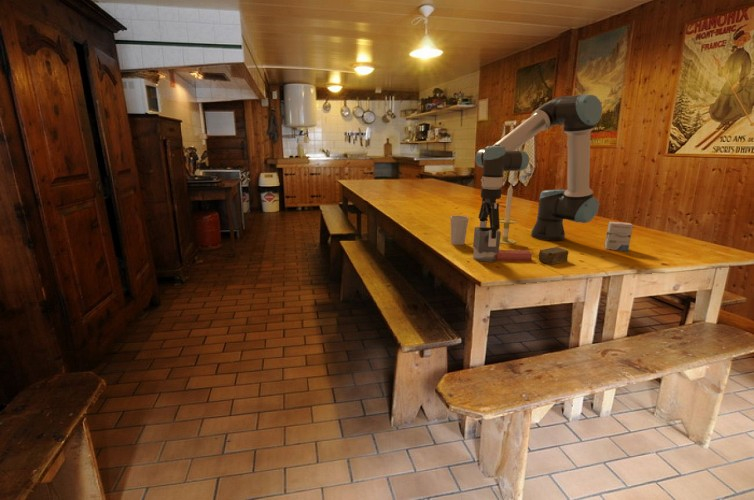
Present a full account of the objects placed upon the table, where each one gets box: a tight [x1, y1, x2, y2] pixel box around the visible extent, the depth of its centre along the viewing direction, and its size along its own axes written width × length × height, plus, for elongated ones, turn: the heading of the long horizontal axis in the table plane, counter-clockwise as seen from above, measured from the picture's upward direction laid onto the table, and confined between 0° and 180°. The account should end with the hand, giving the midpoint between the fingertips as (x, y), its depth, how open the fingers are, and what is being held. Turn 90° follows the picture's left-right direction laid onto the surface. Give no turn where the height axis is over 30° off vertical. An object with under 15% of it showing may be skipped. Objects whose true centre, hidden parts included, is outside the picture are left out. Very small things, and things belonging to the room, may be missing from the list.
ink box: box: [604, 221, 634, 252], centre depth 175 cm, size 8×5×12 cm, turn 71°
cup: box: [450, 215, 470, 246], centre depth 180 cm, size 8×8×12 cm
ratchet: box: [472, 247, 533, 263], centre depth 159 cm, size 22×9×8 cm, turn 91°
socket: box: [472, 226, 502, 252], centre depth 158 cm, size 8×8×8 cm
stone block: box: [538, 246, 569, 265], centre depth 158 cm, size 6×12×5 cm, turn 119°
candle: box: [499, 184, 518, 245], centre depth 182 cm, size 10×10×27 cm
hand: (486, 241), depth 158 cm, fingers open, 13 cm apart
